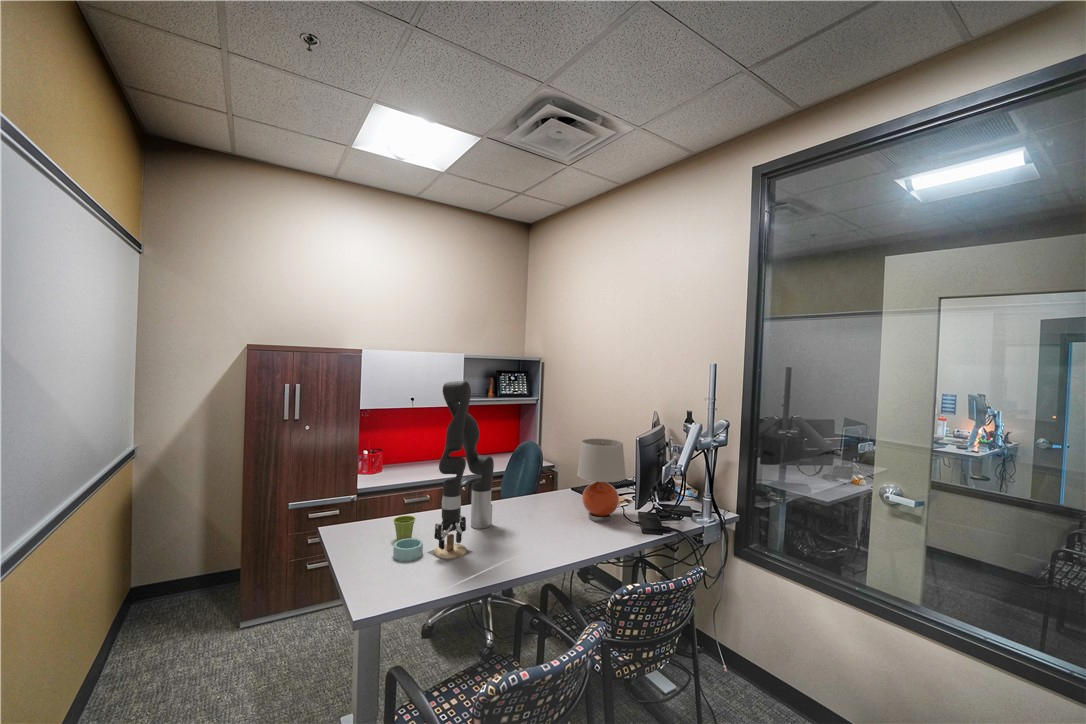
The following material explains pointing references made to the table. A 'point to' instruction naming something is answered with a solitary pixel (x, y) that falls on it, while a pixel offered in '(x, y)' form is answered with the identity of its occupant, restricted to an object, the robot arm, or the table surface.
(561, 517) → the table surface
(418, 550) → the bowl
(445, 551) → the lid
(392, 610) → the table surface
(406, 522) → the plant pot
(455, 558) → the mat
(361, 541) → the table surface
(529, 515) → the table surface
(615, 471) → the lamp
